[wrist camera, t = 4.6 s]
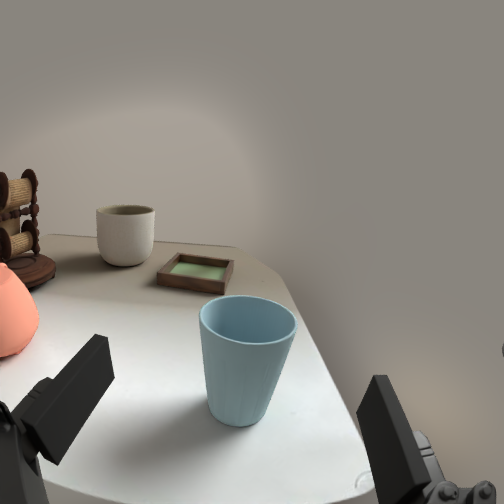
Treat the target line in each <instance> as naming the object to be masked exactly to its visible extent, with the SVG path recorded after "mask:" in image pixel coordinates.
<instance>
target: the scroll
mask: <svg viewBox="0 0 504 504" xmlns="http://www.w3.org/2000/svg"><path fill="white" fill-rule="evenodd" d="M37 186H38V181H37V179H36V175H35V173H34V171H33V170H31V169H26V170H25V171H24V172H23V174H22V176H21V179H16V180H9V181H8V178H7V176H6V174H5V173H3V172H0V263H5V264H6V265H7V267H8V268H9V269H10V270H12V271H13V272H14V273H15V274H16V276H17V277H18V278H19V279H20V280H21V282H22V283H23V284H24V285H25V287H26V288H30V287H33V286H36V285H39V284H41V283H43V282H45V281H47V280H49V279H50V278H51V277H52V278H54V277H55V272H56V266H55V262H54V261H53V260H52V259H51V258H49V257H47V256H45V255H41V254H39V251H40V247H39V244H38V241H39V239H38V236H39V230H38V229H37V228H36V227H37V226H38V222H37V219H36V216H37V213H38V212H39V206H38V205H37V204H36V202H37V197H36V191H37ZM29 202H31V205H30V206H29V208H27V207H25V208H23V209H22V210H20V206H21V205H25V204H29ZM28 214H31V217H32V220H25V221H24V222H23V224H22V227H21V233H20V217H21V215H28ZM29 250H32V251H33V252H34V253H24V252H27V251H29ZM22 253H23V254H22Z"/></svg>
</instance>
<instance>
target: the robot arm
mask: <svg viewBox="0 0 504 504" xmlns="http://www.w3.org/2000/svg"><path fill="white" fill-rule="evenodd" d="M114 378H115V377H114V372H113V366H112V361H111V355H110V349H109V342H108V337H105V336H101V335H98V334H95V335H94V336H93V337H92V338H91V339H90V340H89V341H88V342H87V343H86V344H85V345H84V346H83V347H82V348H81V349H80V351H79V352H78V353H77V354H76V355H75V356H74V357H73V358H72V359H71V360H70V361H69V362H68V364H67V365H66V366H65V367H64V368H63V369H62V370H61V371H60V372H59V374H58V375H57V376H56V377H55V378H54V379H51V378H49V377H46V378H45V379H43V380H41V381H39V382H38V383H37V384H36V385H35V386H34V387H33V388H32V390H31V391H30V392H29V393H28V395H26V396H25V397H24V398H23V399H22V401H21V402H20V403H19V404H18V405H17V406H16V407H15V409H14V410H13V411H12V412H11V413H10V411H9V409H8V407H7V406H6V405H5V403H3V402H1V401H0V504H49V501H48V498H47V494H46V490H45V487H44V483H43V479H42V474H41V470H40V465H39V460H38V458H37V454H38V452H39V451H40V453H41V454H42V456H43V457H44V458H45V459H46V460H48V461H50V462H52V463H54V464H55V465H57V466H58V465H59V463H60V461H61V460H62V458H63V457H64V455H65V453H66V452H67V450H68V449H69V447H70V445H71V444H72V442H73V441H74V439H75V437H76V436H77V434H78V433H79V431H80V430H81V428H82V427H83V425H84V423H85V422H86V420H87V419H88V417H89V416H90V414H91V413H92V411H93V410H94V408H95V407H96V405H97V404H98V402H99V401H100V399H101V398H102V396H103V395H104V393H105V392H106V390H107V389H108V387H109V386H110V384H111V383H112V381H113V380H114ZM356 414H357V418H358V421H359V425H360V429H361V432H362V436H363V440H364V444H365V448H366V451H367V455H368V459H369V463H370V467H371V471H372V476H373V480H374V484H375V488H376V493H377V497H378V502H379V504H496V489H495V487H494V485H493V484H492V483H490V482H488V481H481V482H479V483H478V484H477V485H475V486H474V487H473V488H458V487H457V486H456V485H455V484H454V483H452V482H450V481H446V480H445V478H444V476H443V473H442V470H441V468H440V466H439V464H438V461H437V459H436V456H435V455H434V452H433V449H432V448H431V445H430V443H429V440H428V438H427V437H426V436H425V435H424V434H423V433H422V432H421V431H415V432H412V430H411V427H410V425H409V423H408V420H407V418H406V416H405V413H404V411H403V409H402V407H401V404H400V403H399V400H398V398H397V396H396V394H395V391H394V389H393V387H392V385H391V383H390V380H389V378H388V376H387V375H373V377H372V380H371V382H370V384H369V387H368V389H367V391H366V393H365V395H364V397H363V399H362V402H361V404H360V406H359V408H358V410H357V412H356Z"/></svg>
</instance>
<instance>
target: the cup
mask: <svg viewBox="0 0 504 504" xmlns="http://www.w3.org/2000/svg"><path fill="white" fill-rule="evenodd" d="M199 324H200V335H201V343H202V353H203V363H204V372H205V381H206V390H207V398H208V404H209V408H210V412H211V414H212V415H213V416H214V417H215V418H216V419H217V420H219V421H220V422H222V423H224V424H227V425H230V426H238V427H243V426H248V425H251V424H254V423H256V422H258V421H259V420H260V419H261V418H262V417H263V416H264V414H265V412H266V409H267V407H268V404H269V402H270V400H271V397H272V395H273V392H274V389H275V387H276V384H277V382H278V379H279V376H280V374H281V371H282V369H283V366H284V363H285V360H286V358H287V355H288V352H289V350H290V347H291V344H292V341H293V339H294V336H295V333H296V330H297V326H298V324H297V320H296V318H295V316H294V315H293V313H292V312H291V311H289V310H288V309H287V308H285V307H284V306H282V305H280V304H278V303H276V302H273V301H271V300H267V299H264V298H259V297H254V296H244V295H234V296H225V297H220V298H216V299H213V300H211V301H209V302H207V303H206V304H205V305H204V306H203V307H202V308H201V310H200V312H199Z"/></svg>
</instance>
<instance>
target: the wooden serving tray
mask: <svg viewBox="0 0 504 504" xmlns="http://www.w3.org/2000/svg"><path fill="white" fill-rule="evenodd" d="M233 266H234V260H229V259H221V258H214V257H206V256H199V255H191V254H184V253H177V254H176V255H175V256H174V257H173V258H172V259H170V260H169V261H168V262H167V263H166V264H165V265H164V266H163V267H162V268H161V269H160V270H159V271H158V272H157V284H158V285H164V286H170V287H176V288H183V289H189V290H195V291H202V292H209V293H215V294H222V295H224V294H225V291H226V288H227V286H228V283H229V280H230V277H231V275H232V272H233Z"/></svg>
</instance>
